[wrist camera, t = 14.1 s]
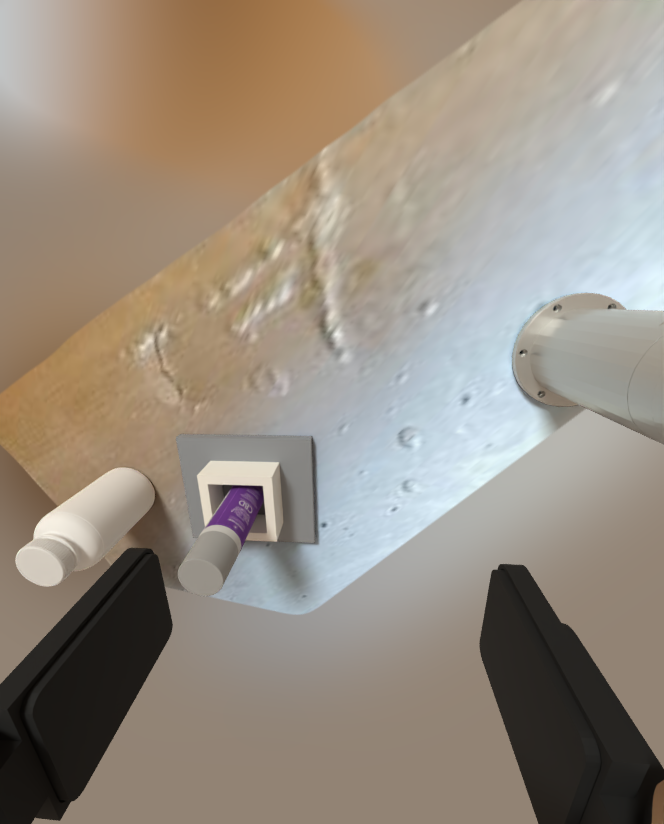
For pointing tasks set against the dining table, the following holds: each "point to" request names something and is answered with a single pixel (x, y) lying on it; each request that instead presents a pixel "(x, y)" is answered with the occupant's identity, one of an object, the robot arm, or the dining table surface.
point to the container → (221, 541)
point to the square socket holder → (252, 481)
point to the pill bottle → (85, 526)
